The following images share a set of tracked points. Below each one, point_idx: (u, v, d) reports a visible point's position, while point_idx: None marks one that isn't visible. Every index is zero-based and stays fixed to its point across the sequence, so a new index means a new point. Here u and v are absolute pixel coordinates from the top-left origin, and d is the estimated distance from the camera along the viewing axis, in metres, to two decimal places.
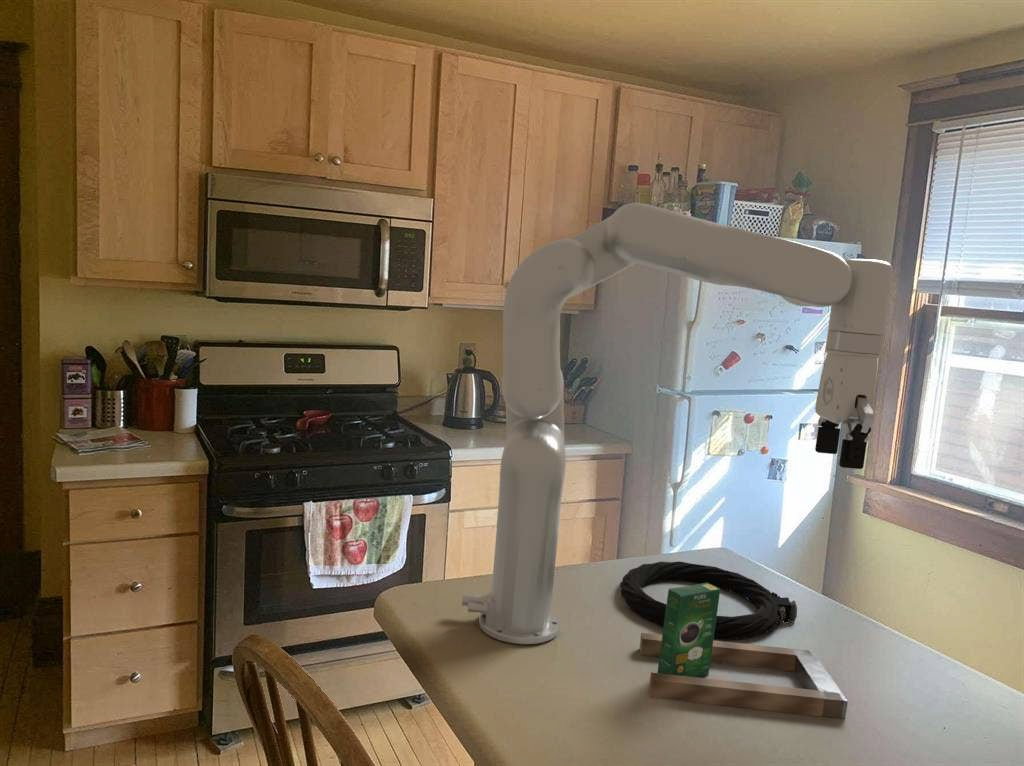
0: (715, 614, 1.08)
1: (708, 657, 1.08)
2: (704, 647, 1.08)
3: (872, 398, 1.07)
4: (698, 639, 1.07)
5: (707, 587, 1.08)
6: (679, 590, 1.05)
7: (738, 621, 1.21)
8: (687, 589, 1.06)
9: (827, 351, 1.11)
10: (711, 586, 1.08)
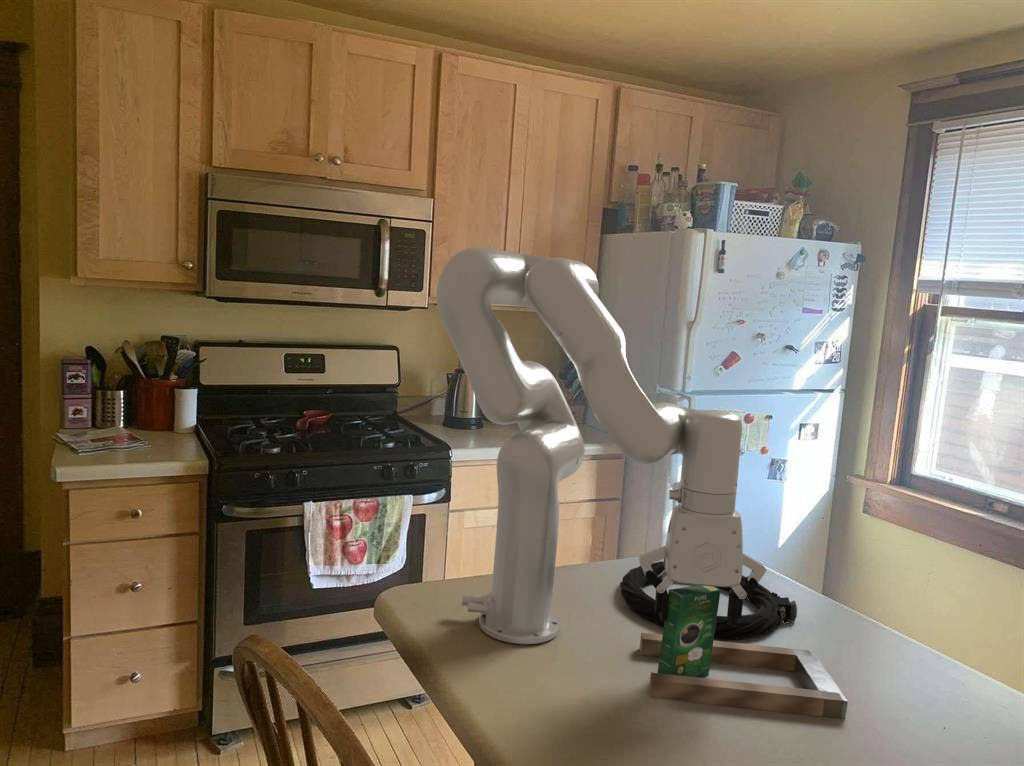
0: (715, 615, 1.08)
1: (708, 658, 1.08)
2: (704, 647, 1.07)
3: None
4: (698, 640, 1.07)
5: (708, 588, 1.07)
6: (679, 591, 1.05)
7: (738, 621, 1.21)
8: (688, 590, 1.06)
9: (713, 516, 1.01)
10: (711, 587, 1.08)
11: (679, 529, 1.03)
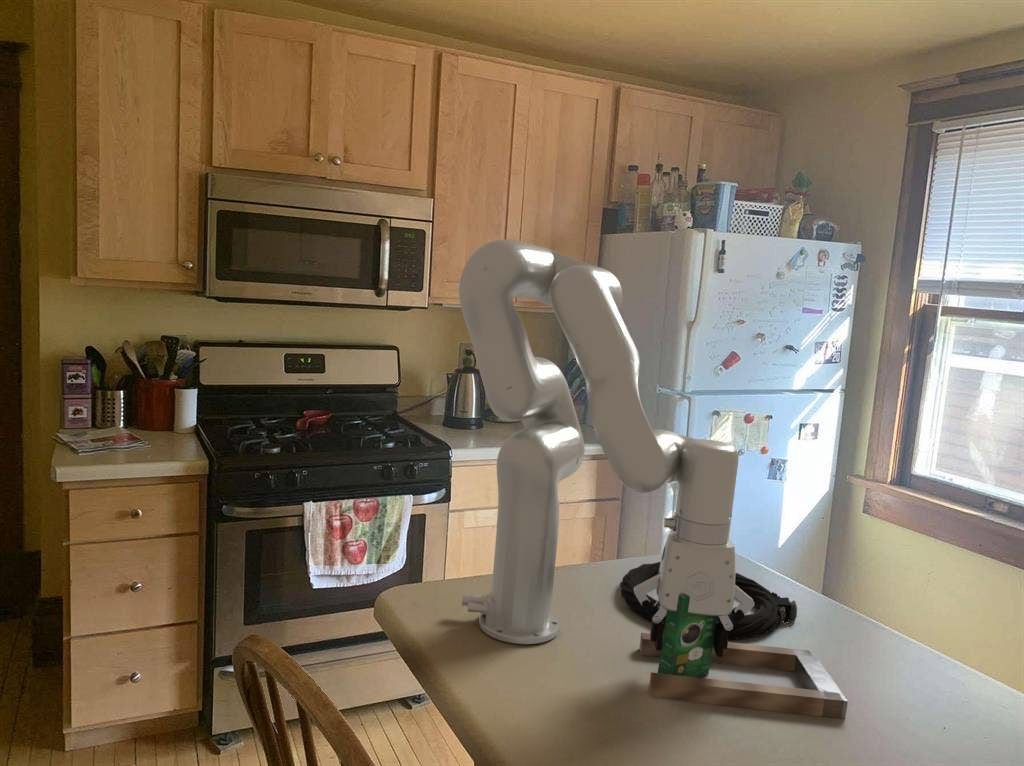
0: None
1: (708, 657, 1.08)
2: (705, 647, 1.07)
3: None
4: (699, 640, 1.06)
5: None
6: None
7: None
8: None
9: (707, 547, 1.02)
10: None
11: (673, 558, 1.04)
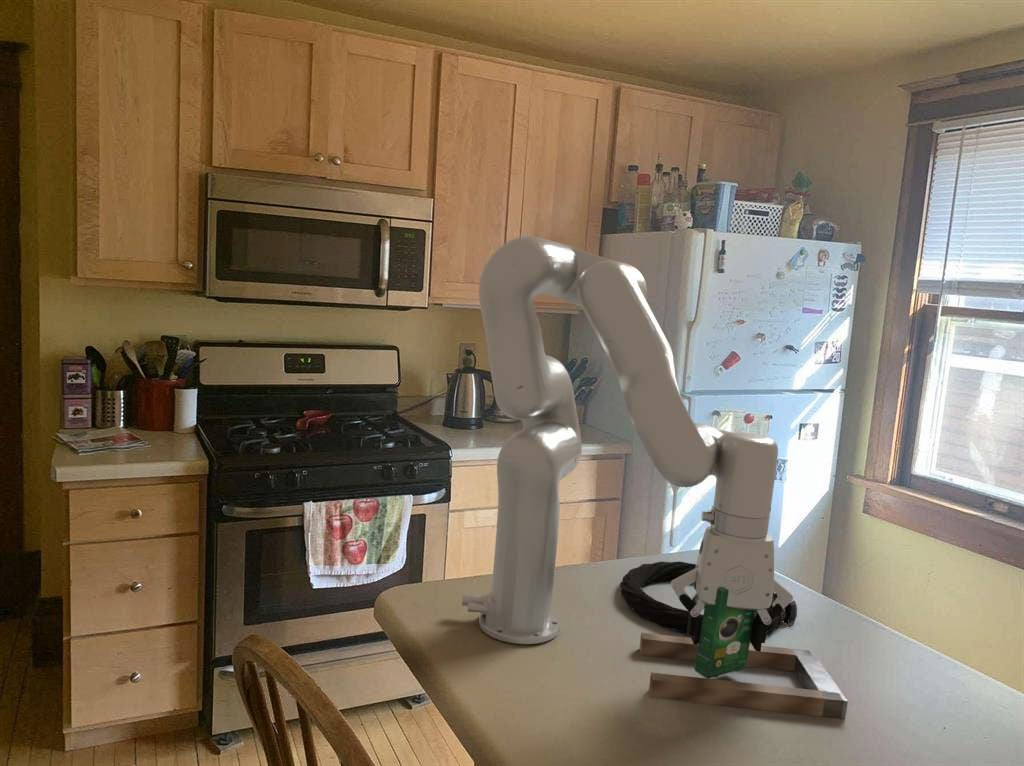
0: None
1: (745, 651, 1.08)
2: (742, 641, 1.07)
3: None
4: (737, 634, 1.06)
5: None
6: None
7: None
8: None
9: (746, 540, 1.01)
10: None
11: (712, 551, 1.03)
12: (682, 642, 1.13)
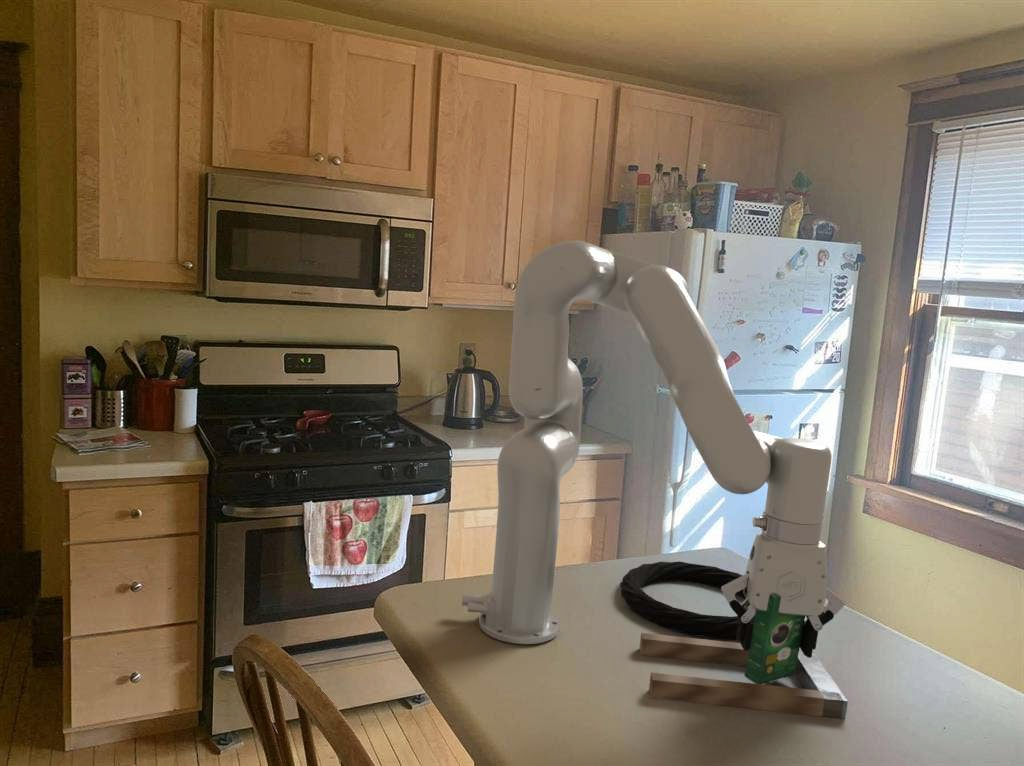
0: None
1: (795, 657, 1.08)
2: (792, 647, 1.07)
3: None
4: (787, 640, 1.06)
5: None
6: None
7: None
8: None
9: (800, 546, 1.01)
10: None
11: (764, 557, 1.03)
12: (682, 642, 1.13)
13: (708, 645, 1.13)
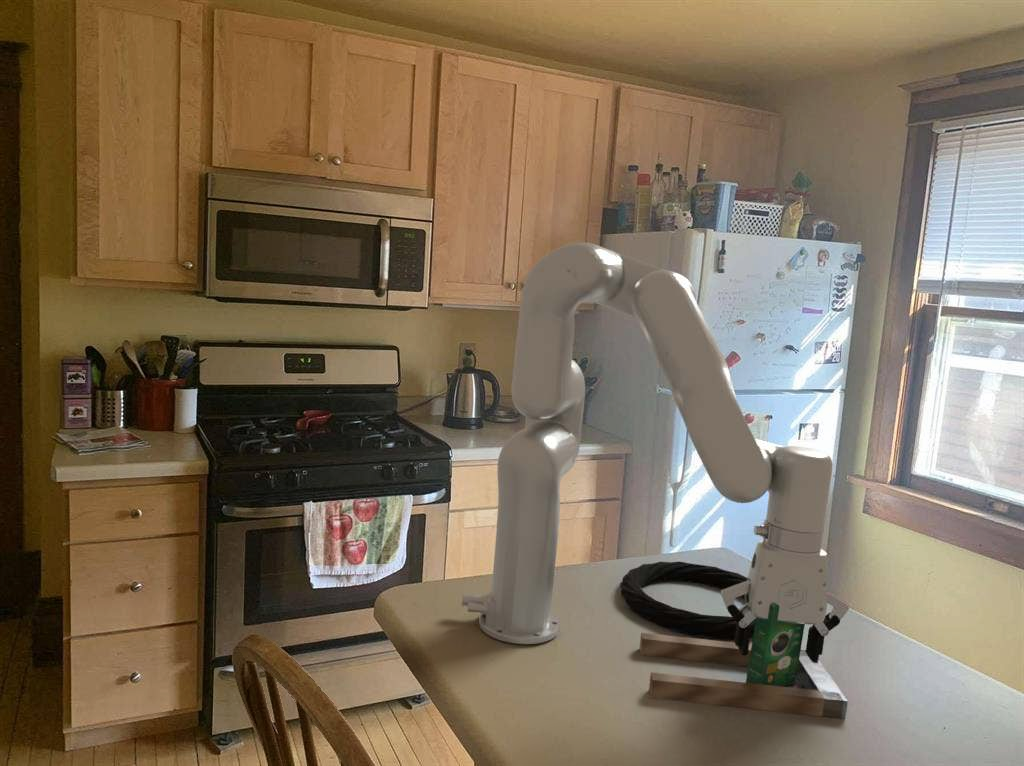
0: None
1: (795, 666, 1.08)
2: (792, 656, 1.07)
3: None
4: (787, 649, 1.06)
5: None
6: None
7: None
8: None
9: (801, 555, 1.01)
10: None
11: (765, 566, 1.03)
12: (682, 642, 1.13)
13: (708, 645, 1.13)
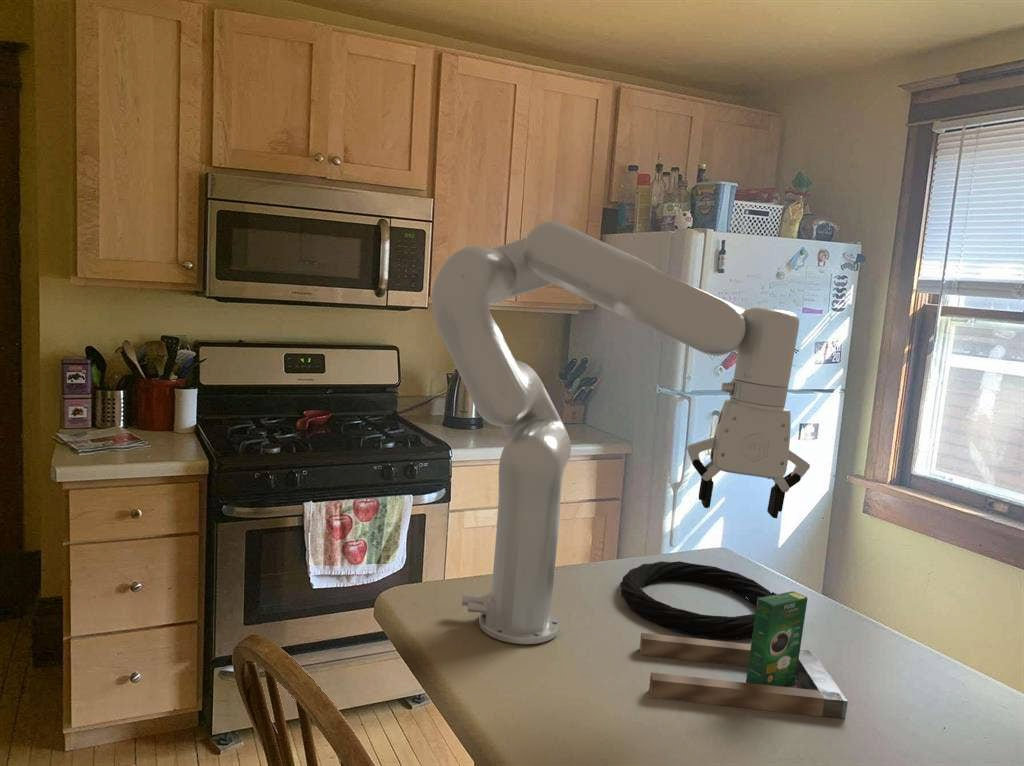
0: (802, 623, 1.07)
1: (795, 666, 1.08)
2: (792, 656, 1.07)
3: None
4: (787, 649, 1.06)
5: (795, 595, 1.07)
6: (769, 599, 1.05)
7: (738, 621, 1.21)
8: (776, 598, 1.05)
9: (764, 407, 1.05)
10: (798, 595, 1.08)
11: (730, 419, 1.07)
12: (682, 642, 1.13)
13: (708, 645, 1.13)
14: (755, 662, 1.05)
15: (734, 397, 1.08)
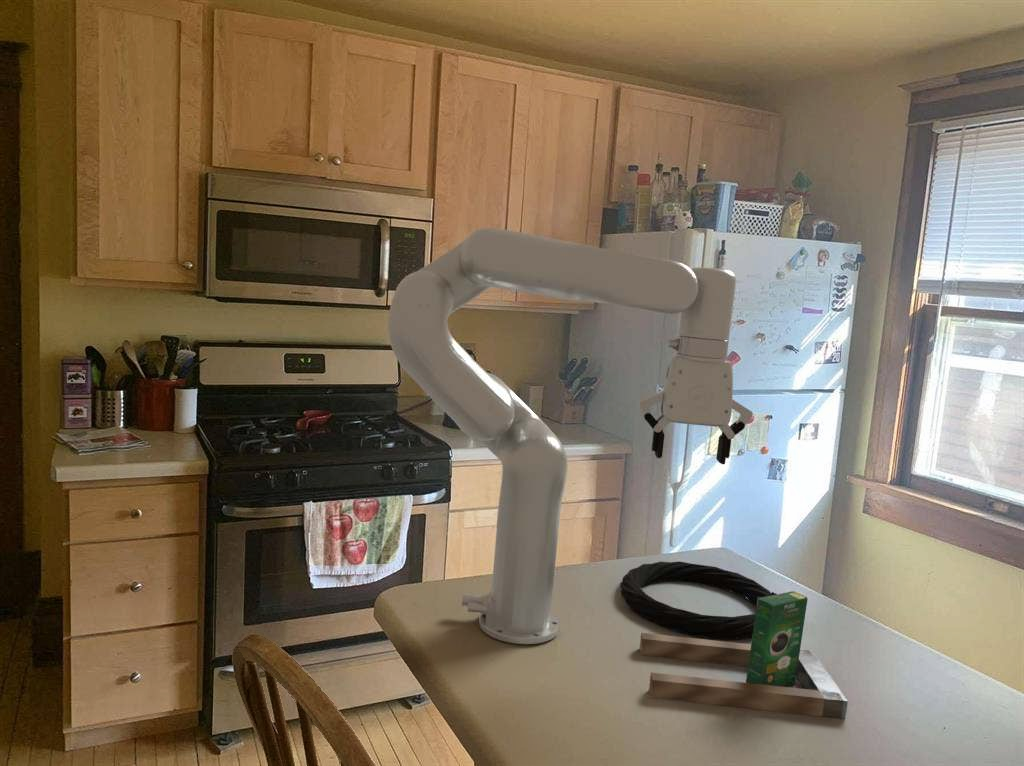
0: (802, 623, 1.07)
1: (795, 666, 1.08)
2: (792, 656, 1.07)
3: None
4: (787, 649, 1.06)
5: (795, 596, 1.07)
6: (769, 599, 1.05)
7: (738, 621, 1.21)
8: (776, 598, 1.05)
9: (707, 360, 1.13)
10: (798, 595, 1.08)
11: (676, 372, 1.14)
12: (682, 642, 1.13)
13: (708, 645, 1.13)
14: (755, 662, 1.05)
15: (679, 352, 1.15)
